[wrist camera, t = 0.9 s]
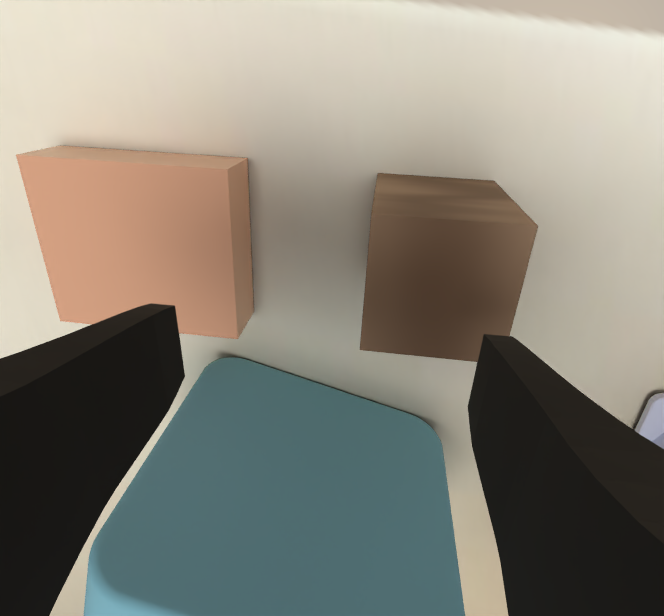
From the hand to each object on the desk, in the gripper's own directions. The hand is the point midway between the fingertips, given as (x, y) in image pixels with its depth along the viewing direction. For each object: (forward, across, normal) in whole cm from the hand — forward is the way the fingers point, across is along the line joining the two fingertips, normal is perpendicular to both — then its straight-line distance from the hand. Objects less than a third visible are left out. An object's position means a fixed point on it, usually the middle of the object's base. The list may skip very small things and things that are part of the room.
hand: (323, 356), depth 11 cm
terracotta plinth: (+9, +8, +1) cm, 13 cm away
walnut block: (+10, -3, 0) cm, 10 cm away
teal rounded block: (+10, +1, +10) cm, 14 cm away
